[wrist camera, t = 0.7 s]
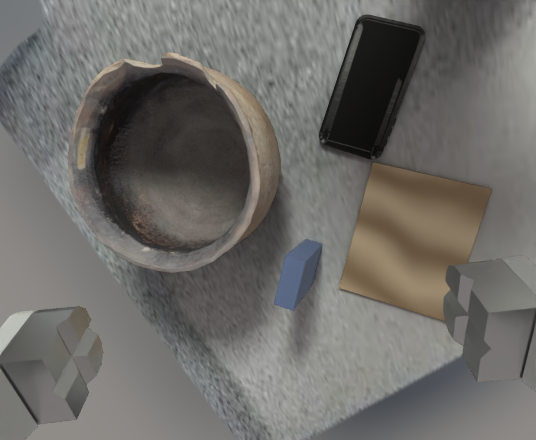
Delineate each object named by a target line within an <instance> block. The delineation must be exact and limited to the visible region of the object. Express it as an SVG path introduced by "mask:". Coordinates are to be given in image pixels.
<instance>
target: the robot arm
mask: <svg viewBox="0 0 536 440" xmlns="http://www.w3.org/2000/svg"><path fill="white" fill-rule="evenodd" d="M445 281H446V283H447V284H448V286H449V288H450V290H449V291H448V293H447V294H446V295H445V296H444V300H443V312H444V318H445V323H446V325H447V328H448V331H449V333H450V335H451V336H452V338H453V340H455V341H456V342H458V343H460V344H461V345H463V354H462V356H463V358H464V360H465V362H466V363H467V365H468V367H469V369H470V370H471V372H472V374H473V376H474V377H475V379H476V381H477V382H485V381H500V380H516V379H522V382H523V383H525V384H526V385H527V386H529V387H530V388H531V389H533V390H534V391H536V265H535V264H534V263H533V262H532V261H531V260H530V259H529V258H527V257H524V256H522V255H521V256H514V257H506V258H499V259H496V260H489V261H481V262H472V263H464V264H455V265H449V266H448V268H447V270H446V278H445ZM90 321H91V318H90V316H89V314H88V312H87V310H86V309H85V308H83V307H80V306H77V307H67V308H56V309H45V310H38V311H26V312H18V313H15V314H13V315H11V316H10V317H9V318H8V319H7V321H6V322H5V323H4V324H3V325H2V327H1V328H0V440H25V439H27V438H28V436H30V435H31V434H32V432H33V431H34V430H35V429H36V428H37V427H38V424H46V423H54V422H62V421H70V420H77V418H78V416H79V414H80V411H81V409H82V407H83V405H84V403H85V401H86V398H87V396H88V394H89V391H88V388H87V384H88V383H89V382H90V381H91V380H92V379H94V378H95V377H96V376H97V374H98V372H99V370H100V367H101V365H102V357H103V348H102V342H101V340H100V338H99V335H98V334H97V333H96V332H94V331H92V330H91V329H90V328H88V327H89V324H90Z"/></svg>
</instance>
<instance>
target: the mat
mask: <svg viewBox="0 0 536 440" xmlns="http://www.w3.org/2000/svg"><path fill="white" fill-rule="evenodd" d="M491 190H492V189H490V188H485V187H481V186H476V185H472V184H467V183H463V182H458V181H454V180H450V179H445V178H441V177H436V176H432V175H427V174H423V173H418V172H414V171H409V170H405V169H401V168H396V167H392V166H387V165H383V164H378V163H374V162H373V164H372V167H371V171H370V175H369V178H368V182H367V186H366V190H365V193H364V197H363V201H362V204H361V208H360V212H359V216H358V219H357V223H356V227H355V230H354V234H353V238H352V241H351V245H350V249H349V253H348V256H347V260H346V264H345V267H344V271H343V275H342V278H341V282H340V286H339V288H341V289H344V290H347V291H351V292H354V293H357V294H360V295H363V296H366V297H370V298H373V299H376V300H379V301H382V302H385V303H389V304H392V305H395V306H398V307H401V308H404V309H408V310H411V311H414V312H417V313H420V314H423V315H427V316H430V317H433V318H436V319H439V320H443V321H445V318H444V312H443V300H444V296H445V295H446V294H447V293H448V291H449V290H450V288H449V286H448V284H447V283H446V281H445V278H446V270H447V268H448V266H449V265H455V264H464V263H467V262H468V259H469V256H470V253H471V250H472V247H473V244H474V241H475V238H476V235H477V232H478V229H479V226H480V223H481V220H482V217H483V214H484V211H485V208H486V205H487V202H488V199H489V196H490V193H491Z"/></svg>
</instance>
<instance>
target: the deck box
mask: <svg viewBox="0 0 536 440" xmlns="http://www.w3.org/2000/svg"><path fill="white" fill-rule="evenodd" d="M321 248H322V244H321V243H317V242H314V241H311V240H307V239H306V240H304V241H303V242H302V243H301V244H299V245H298V246H297V247H296V248H295V249H293V250H292V251H291V252H290V253H288V254H287V255H286V256H285V259H284V263H283V268H282V272H281V276H280V280H279V285H278V289H277V293H276V297H275V302H274V305H277V306H280V307H283V308H286V309H289V310H292V311H294V309H295V308H296V306H297V305H298V304H299V302H300V301H301V299H302V298H303V297H304V295H305V294H306V292H307V291H308V290H309V288H310V287H311V285H312V283H313V280H314V276H315V272H316V268H317V264H318V260H319V256H320V252H321Z"/></svg>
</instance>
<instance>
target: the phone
mask: <svg viewBox="0 0 536 440" xmlns="http://www.w3.org/2000/svg"><path fill="white" fill-rule="evenodd" d="M424 38H425V32H424V30H423V29H422V28H421V27H419V26H416V25H412V24H407V23H403V22H399V21H394V20H390V19H385V18H381V17H377V16H372V15H363V16H361V17H359V19H358V20H357V21H356V24H355V27H354V30H353V33H352V36H351V39H350V42H349V45H348V48H347V51H346V54H345V57H344V60H343V63H342V66H341V69H340V72H339V75H338V78H337V81H336V84H335V87H334V90H333V93H332V96H331V99H330V102H329V105H328V108H327V111H326V114H325V117H324V120H323V123H322V126H321V129H320V132H319V139H320V141H321V142H322V143H323V144H325V145H327V146H330V147H334V148H337V149H340V150H343V151H346V152H349V153H352V154H355V155H359V156H362V157H365V158H368V159H376V158H378V157H380V156H381V154H382V152H383V150H384V147H385V146H386V143H387V139H388V136H390V133H391V130H392V126H393V125H394V123H395V120H396V118H395V117H396V115H397V112H398V109H399V107H400V104H401V101H402V99H403V96H404V93H405V91H406V88H407V85H408V82H409V80H410V77H411V74H412V72H413V69H414V66H415V64H416V61H417V58H418V56H419V53H420V50H421V48H422V45H423V42H424Z"/></svg>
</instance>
